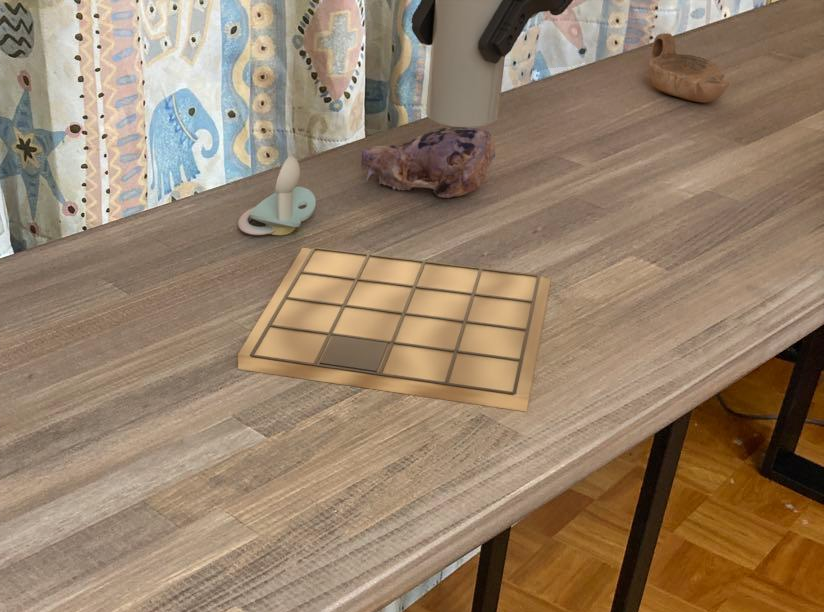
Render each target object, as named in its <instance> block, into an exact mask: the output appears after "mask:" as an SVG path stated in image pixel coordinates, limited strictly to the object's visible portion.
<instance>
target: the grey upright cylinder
mask: <svg viewBox="0 0 824 612" xmlns="http://www.w3.org/2000/svg"><path fill="white" fill-rule="evenodd" d="M501 2H502V0H435V8H434V21H433V33H432V45H430V46H431V47H430V59H429V60H430V61H429V73H428V83H427V84H428V86H427V96H426V97H427V99H426V110H425V111H426V112H425V114H426V117H427V119H429V120H430V121H431V122H434V123H436V124H439V125H442V126H445V127H447V126H451V127H463V128H479V127H484V126H489V125H491V124H493V123H495V122H496V121H497V120H498V118H499V111H500V105H501V95H502V86H503V79H504V71H505V62H506V56H505V57H503V56H502V57H501V59H500V60H499V62H498V63H496V64H495V63H491V62H487V61H486V60H485V59H484V57H483V56H482V54H481V52H480V51H479V49H478V43H479V40H480V38H481V36H482V34H483V33H484V31H485V29H486V28H487V26H488V24H489V22H490V21H491V19H492V17H493V16H494V14H495V12H496V10H497V9H498V7H499V5H500V4H501Z"/></svg>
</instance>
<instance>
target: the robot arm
mask: <svg viewBox="0 0 824 612" xmlns="http://www.w3.org/2000/svg"><path fill="white" fill-rule="evenodd" d="M572 2H574V0H502V2H501V4H500V5H499V7H498V9H497V10H496V12H495V14H494V16H493V17H492V19H491V21H490V22H489V24H488V26H487V28H486V29H485V31H484V33H483V34H482V36H481V38H480V40H479V43H478V49H479V51H480V52H481V54H482V56H483V57H484V59H485V60H486V61H487V62H491V63H495V64H496V63H498V62H499V60H500V59H501V57H502V56H503V57H505V58H506V57H507V55H509V53H511V51H512V49H513V48H514V47H515V44H516V42H517V40H518V39H519V38H520V36H521V34H522V32H523V31H524V29H525V27H526V25H527V24H528V22H529V20H530V19H533V18H535V17H536V16H537V15H538V14H539V13H543V12H544V13H545V12H549V14H551V16H560V15H561V14H563V13H564V12H566V10H567V9H568V8H569V6H570V5H571V4H572ZM416 7H417V8H415V10H414V12H413V14H412V17H411V21H410V22H411V31H412V33H413V34H414V36H415V37H416V39H417V41H418V42H419V43H420V44H421V45H427V46H432V33H433V21H434V8H435V0H420V3H418V5H417V6H416Z"/></svg>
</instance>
